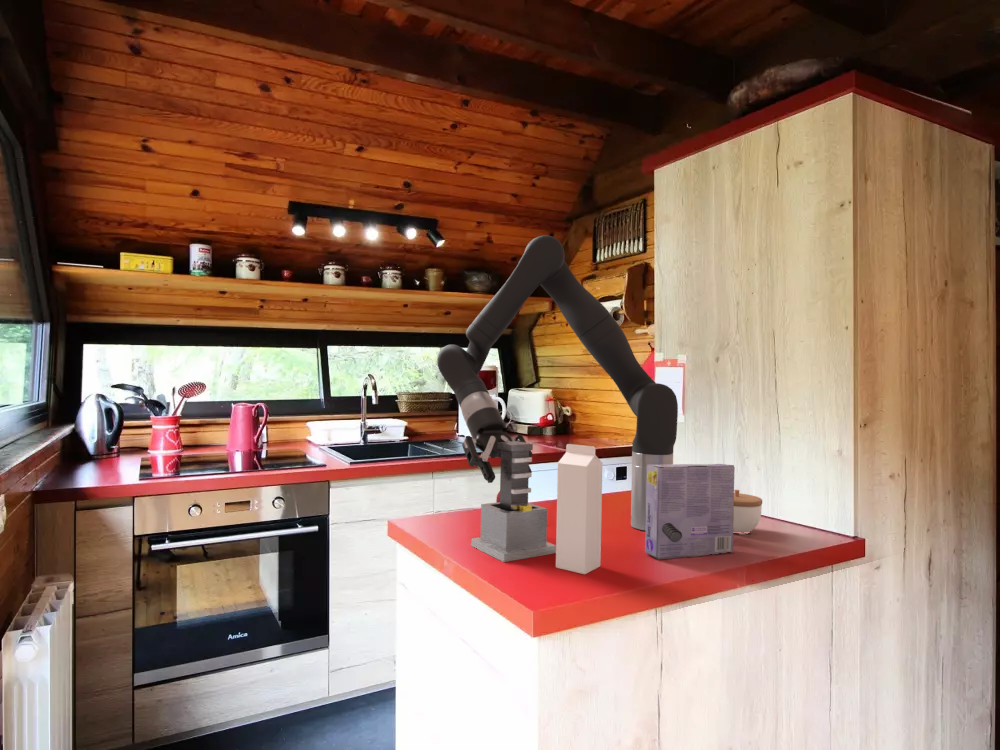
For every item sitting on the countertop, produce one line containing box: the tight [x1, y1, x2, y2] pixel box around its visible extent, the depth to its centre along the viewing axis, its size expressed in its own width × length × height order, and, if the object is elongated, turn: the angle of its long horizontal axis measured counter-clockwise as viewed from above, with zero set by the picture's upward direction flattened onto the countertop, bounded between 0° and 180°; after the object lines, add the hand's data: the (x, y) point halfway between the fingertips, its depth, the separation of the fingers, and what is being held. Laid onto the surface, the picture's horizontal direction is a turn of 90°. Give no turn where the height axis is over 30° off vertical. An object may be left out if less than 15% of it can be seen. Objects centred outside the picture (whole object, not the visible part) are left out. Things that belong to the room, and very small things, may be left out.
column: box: [498, 441, 534, 512], centre depth 119 cm, size 5×6×19 cm
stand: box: [470, 502, 556, 563], centre depth 119 cm, size 12×12×10 cm
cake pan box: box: [644, 463, 736, 560], centre depth 119 cm, size 19×5×18 cm, turn 110°
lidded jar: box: [733, 489, 763, 533], centre depth 138 cm, size 11×11×9 cm
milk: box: [555, 443, 603, 575], centre depth 109 cm, size 6×6×22 cm
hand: (510, 479), depth 121 cm, fingers open, 8 cm apart
